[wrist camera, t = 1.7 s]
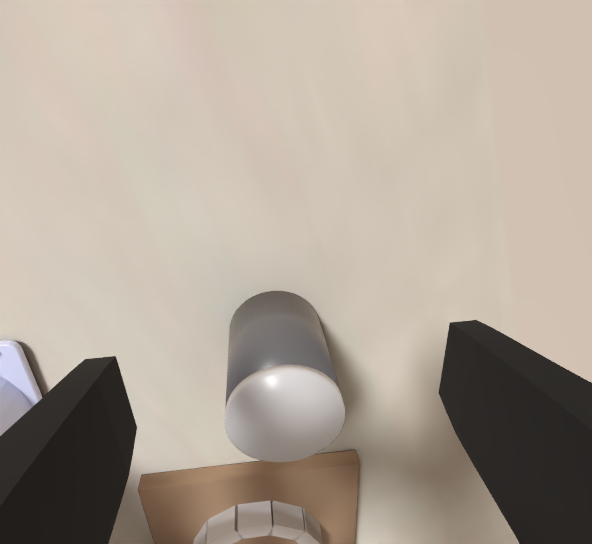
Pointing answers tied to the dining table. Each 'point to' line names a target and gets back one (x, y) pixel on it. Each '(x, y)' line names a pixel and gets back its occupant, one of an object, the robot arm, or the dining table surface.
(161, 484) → the socket board
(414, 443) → the dining table surface
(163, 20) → the dining table surface
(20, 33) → the dining table surface
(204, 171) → the dining table surface
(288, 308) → the white-capped gray cylinder
